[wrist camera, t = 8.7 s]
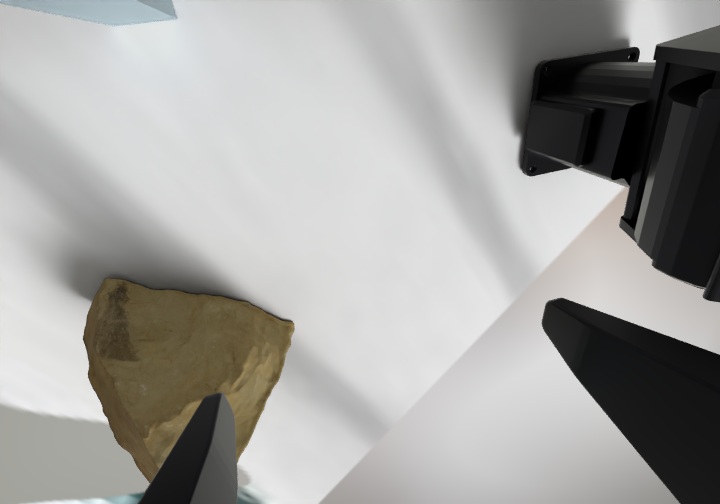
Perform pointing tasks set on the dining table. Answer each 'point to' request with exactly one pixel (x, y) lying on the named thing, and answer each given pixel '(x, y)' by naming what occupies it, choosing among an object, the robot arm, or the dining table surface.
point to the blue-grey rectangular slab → (103, 10)
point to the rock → (178, 363)
